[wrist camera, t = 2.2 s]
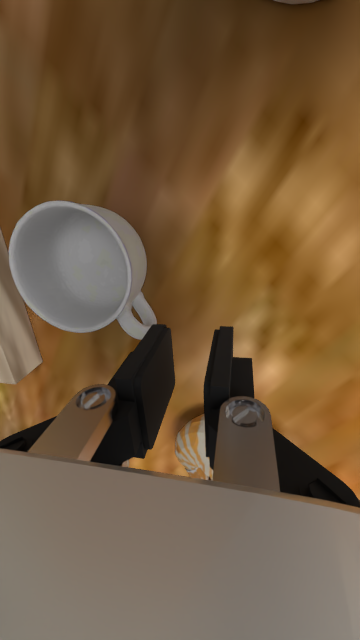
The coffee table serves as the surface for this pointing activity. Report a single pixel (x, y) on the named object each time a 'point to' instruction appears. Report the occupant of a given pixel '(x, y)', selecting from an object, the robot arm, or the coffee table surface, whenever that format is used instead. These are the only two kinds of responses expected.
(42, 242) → the teacup
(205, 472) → the nautilus
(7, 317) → the bar
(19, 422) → the coffee table surface
